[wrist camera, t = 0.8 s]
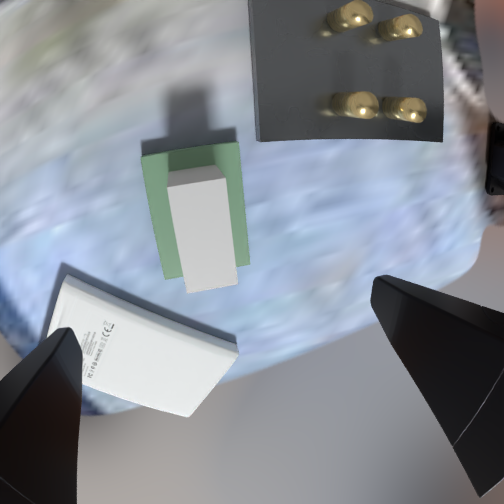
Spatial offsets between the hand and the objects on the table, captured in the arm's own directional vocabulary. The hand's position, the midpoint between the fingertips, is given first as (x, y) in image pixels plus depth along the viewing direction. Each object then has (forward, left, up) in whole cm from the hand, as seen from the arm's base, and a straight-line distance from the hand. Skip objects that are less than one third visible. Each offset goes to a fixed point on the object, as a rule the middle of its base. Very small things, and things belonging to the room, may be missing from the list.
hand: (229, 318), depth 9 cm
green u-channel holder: (0, 0, -10) cm, 10 cm away
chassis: (-10, -8, -10) cm, 16 cm away
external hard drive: (+6, +10, -11) cm, 16 cm away
